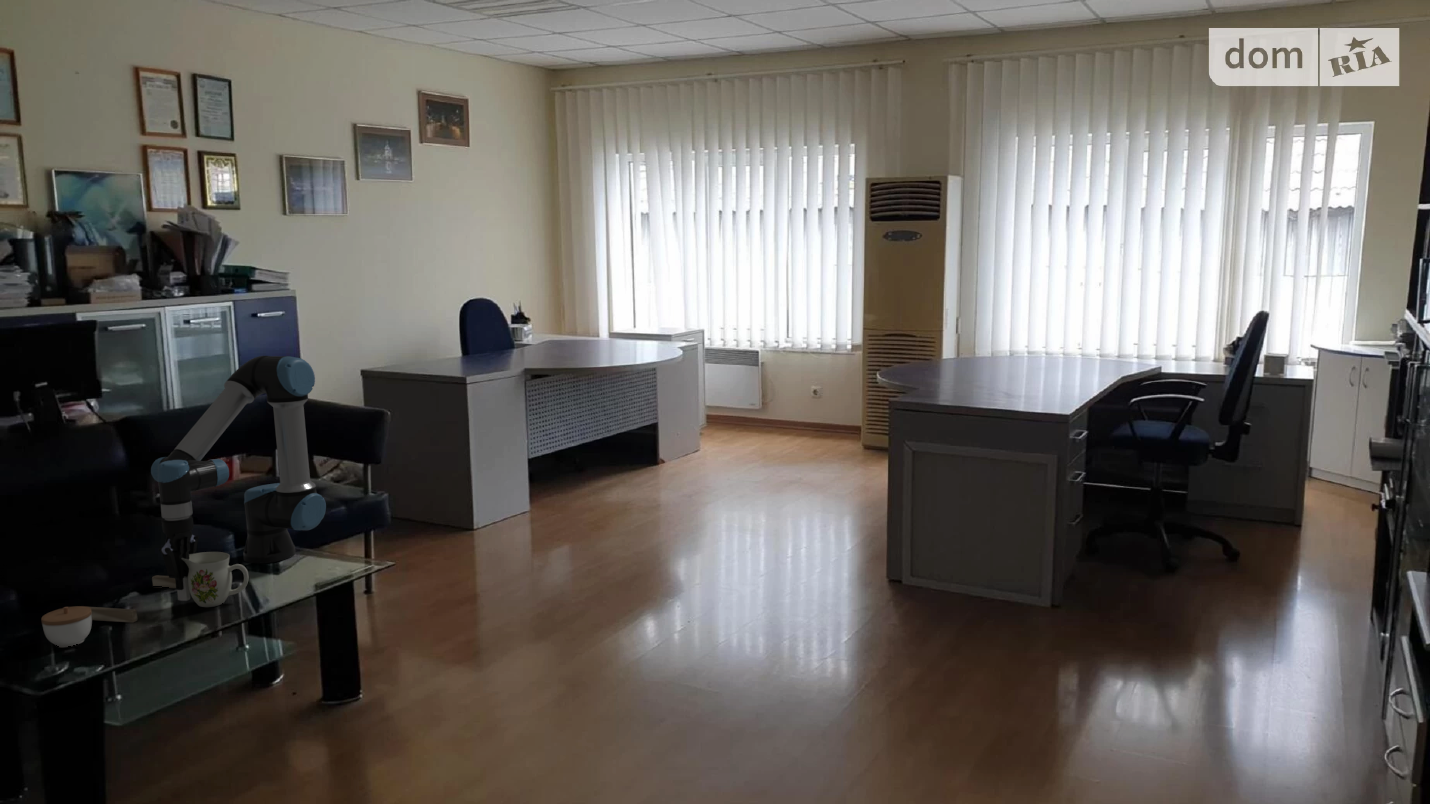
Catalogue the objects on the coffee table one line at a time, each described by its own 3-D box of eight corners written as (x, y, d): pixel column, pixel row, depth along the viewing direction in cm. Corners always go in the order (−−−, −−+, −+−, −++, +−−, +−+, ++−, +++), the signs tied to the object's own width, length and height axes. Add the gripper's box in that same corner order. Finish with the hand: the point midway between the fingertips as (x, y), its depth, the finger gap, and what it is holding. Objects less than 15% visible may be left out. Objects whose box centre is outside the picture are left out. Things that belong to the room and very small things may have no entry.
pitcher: (244, 609, 279) (242, 561, 276) (173, 611, 275) (170, 562, 273) (254, 595, 289) (252, 548, 287) (186, 596, 286) (184, 549, 284)
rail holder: (157, 585, 298) (155, 575, 298) (202, 587, 296) (201, 577, 295) (84, 619, 272) (82, 608, 271) (133, 622, 269) (131, 611, 269)
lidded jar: (40, 654, 249) (36, 618, 248) (49, 638, 259) (44, 603, 258) (91, 646, 254) (86, 611, 252) (97, 631, 263) (93, 597, 262)
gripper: (181, 510, 284) (188, 591, 288) (147, 522, 271) (155, 606, 275) (205, 511, 283) (212, 592, 286) (172, 524, 270) (179, 608, 274)
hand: (184, 599), depth 281 cm, fingers closed
